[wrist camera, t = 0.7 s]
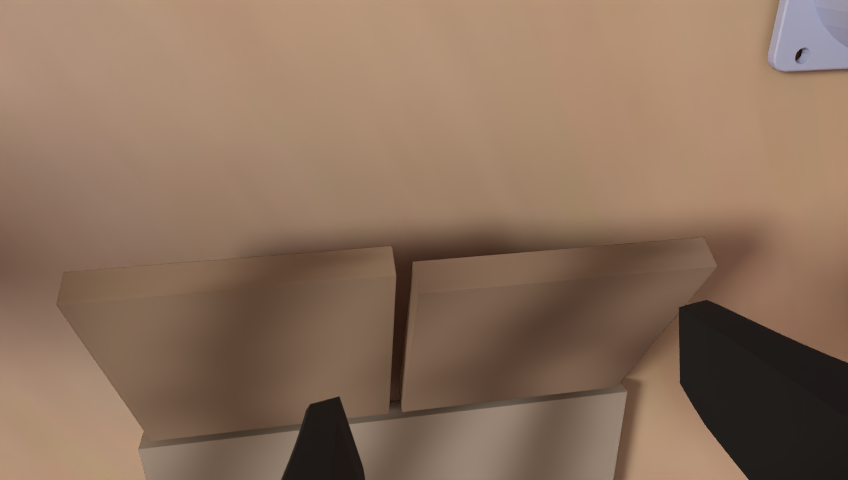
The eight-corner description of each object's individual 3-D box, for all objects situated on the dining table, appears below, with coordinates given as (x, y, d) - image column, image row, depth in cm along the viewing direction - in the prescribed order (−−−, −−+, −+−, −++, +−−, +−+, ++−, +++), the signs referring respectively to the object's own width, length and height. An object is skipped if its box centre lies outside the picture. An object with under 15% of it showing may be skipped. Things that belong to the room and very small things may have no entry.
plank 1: (391, 245, 18) (396, 275, 18) (385, 388, 25) (388, 413, 25) (63, 272, 17) (56, 304, 16) (154, 414, 24) (151, 441, 23)
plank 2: (704, 237, 19) (717, 266, 18) (608, 363, 26) (616, 386, 26) (412, 261, 18) (418, 293, 17) (398, 386, 25) (402, 411, 25)
